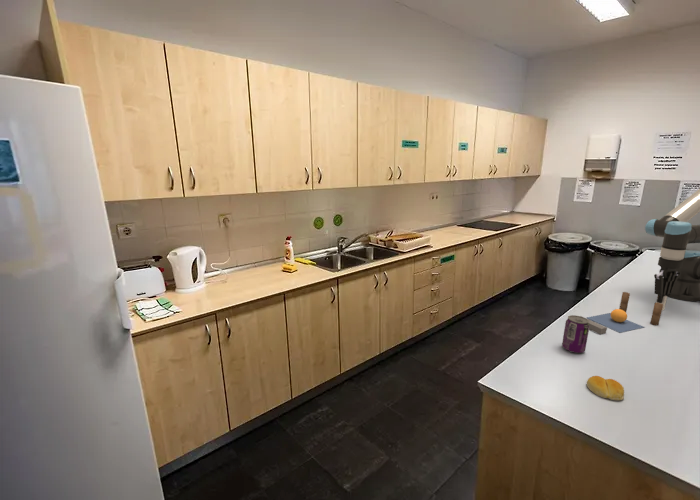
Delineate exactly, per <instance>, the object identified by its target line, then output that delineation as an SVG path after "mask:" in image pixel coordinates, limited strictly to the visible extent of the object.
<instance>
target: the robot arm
mask: <svg viewBox="0 0 700 500" xmlns="http://www.w3.org/2000/svg"><path fill="white" fill-rule="evenodd" d="M699 213H700V188H699V189H697V190H696V191H694V193H692V194H691V195H689V196H688V197H687V198H686V199H685V200H683V201H682V202H681V203H679V204H678V205H677V206H675V207H674V208H673V209H672V210H670V211H668V213H666V214H665V215H664V216H662V217H661V218H660V219H658V218H656V219H655V218H654V219H650V220H648V221H647V222H646V224H645V226H644V230H645V232H646V233H647V235H650V236H655V237H660V238H663V240H662V245H661V248H660V254H659V256H660V257H659V258H658V263H657V265H658V266H659V267H660V269H659V270H658V273H655V274H654V294H655V295H657V297H656V298H657V299H656V302H655V303H661V304H663V308H662V311H665V308H666V303H667V300H668V298H671V299H677V300H680V301H687V302H700V250H694V249H693V250H687V246H688V244H700V224H697V225H696V224H692V223H690V222H689V221H690V220H691V219H692V218H694V217H695V216H696V215H697V214H699Z"/></svg>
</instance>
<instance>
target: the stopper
mask: <svg viewBox="0 0 700 500" xmlns="http://www.w3.org/2000/svg"><path fill="white" fill-rule="evenodd" d="M580 316H581V317H583V316H582V315H580ZM588 321H589V331H591V332H594V333H596V334H598V335H605V334H606V333H607V330H608V327H605V326H603V325H601V324H599V323H596V322H594V321H592V320H590V319H588Z"/></svg>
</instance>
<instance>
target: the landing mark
mask: <svg viewBox="0 0 700 500" xmlns="http://www.w3.org/2000/svg"><path fill="white" fill-rule="evenodd" d="M586 319H589V320H591V321H593V322H595V323H598V324H600V325H602V326H604V327H607V329H610V330H613V332H617V333H619V334H622V333H625V332H630V331H634V330H638V329H639V330H640V329H644V328H645V326H643V325H641V324H638V323H636V322H633V321H631V320H628V319H626V320H625V321H624V322H616V321H614V320H613V319H612V318H611V312H608V313H603V314H598V315H592V316H588V317H586Z"/></svg>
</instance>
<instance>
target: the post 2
mask: <svg viewBox="0 0 700 500" xmlns="http://www.w3.org/2000/svg"><path fill="white" fill-rule="evenodd" d="M662 308H663V304H661V303H656V302H654V305H653V309H652V313H651V317H650V322H649V324H650V325H653V326H659V325H660V321H661V316H662V312H663V310H662Z"/></svg>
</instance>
